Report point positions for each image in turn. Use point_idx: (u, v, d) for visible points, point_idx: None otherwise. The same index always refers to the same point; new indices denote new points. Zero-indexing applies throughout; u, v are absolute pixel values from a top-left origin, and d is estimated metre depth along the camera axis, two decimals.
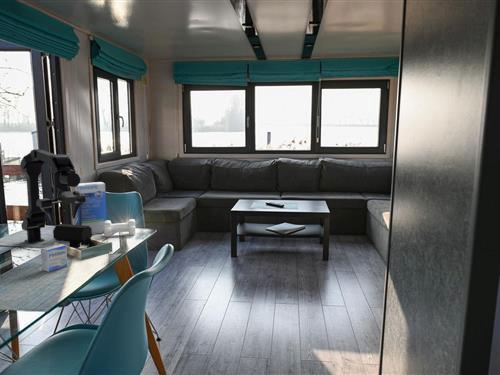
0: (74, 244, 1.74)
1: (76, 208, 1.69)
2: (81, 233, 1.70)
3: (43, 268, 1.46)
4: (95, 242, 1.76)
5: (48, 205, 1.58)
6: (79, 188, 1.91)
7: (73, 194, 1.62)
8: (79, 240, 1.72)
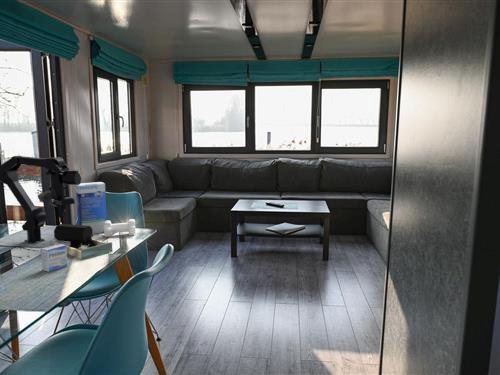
0: (75, 244, 1.74)
1: (56, 208, 1.79)
2: (82, 233, 1.70)
3: (43, 268, 1.46)
4: (95, 242, 1.76)
5: None
6: (79, 188, 1.91)
7: None
8: (80, 240, 1.71)
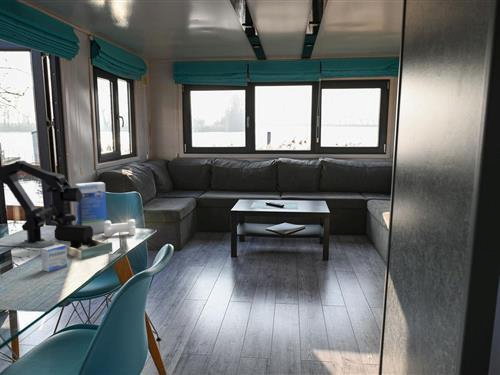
0: (75, 244, 1.74)
1: None
2: (82, 233, 1.70)
3: (43, 268, 1.46)
4: None
5: None
6: (79, 188, 1.91)
7: None
8: (80, 240, 1.71)
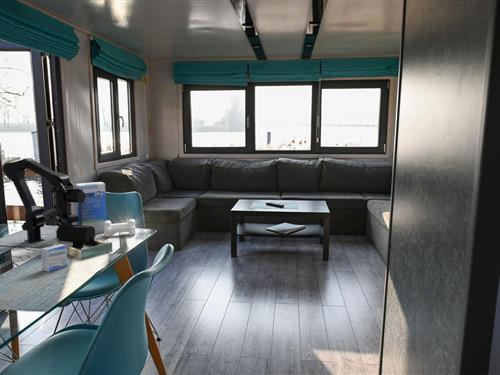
0: (78, 244, 1.73)
1: None
2: (85, 233, 1.69)
3: (43, 268, 1.46)
4: None
5: None
6: None
7: None
8: (83, 240, 1.71)
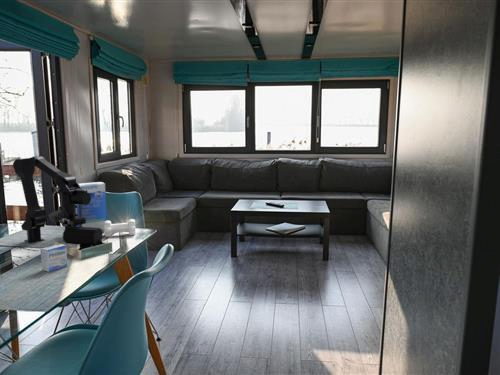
0: (85, 247, 1.70)
1: None
2: (93, 235, 1.66)
3: (43, 268, 1.46)
4: None
5: None
6: None
7: None
8: (90, 243, 1.68)
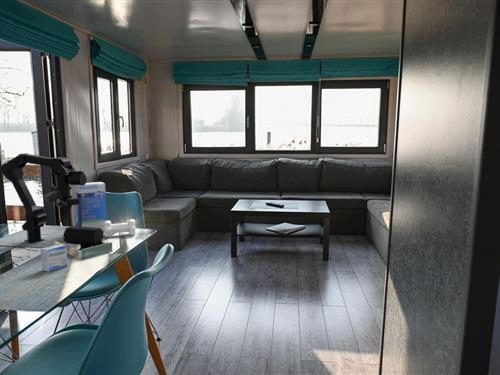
0: (85, 247, 1.70)
1: (62, 209, 1.78)
2: (93, 236, 1.66)
3: (43, 268, 1.46)
4: None
5: None
6: (79, 188, 1.91)
7: None
8: (91, 243, 1.68)
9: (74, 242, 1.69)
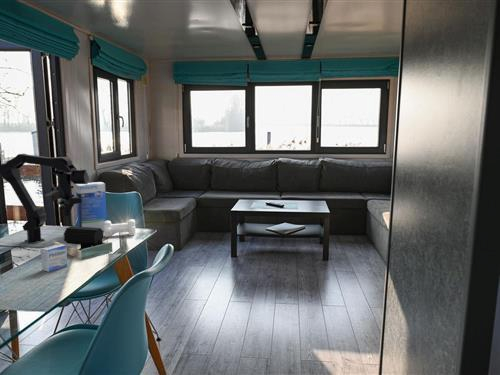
0: (85, 247, 1.70)
1: (64, 207, 1.81)
2: (93, 236, 1.66)
3: (43, 268, 1.46)
4: None
5: None
6: (79, 188, 1.91)
7: None
8: (91, 243, 1.68)
9: (74, 242, 1.69)
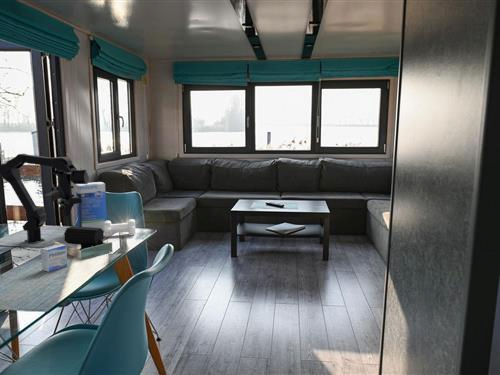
0: (86, 247, 1.70)
1: (64, 207, 1.81)
2: (93, 236, 1.66)
3: (43, 268, 1.46)
4: None
5: None
6: (79, 188, 1.91)
7: None
8: (91, 243, 1.68)
9: (75, 242, 1.69)
